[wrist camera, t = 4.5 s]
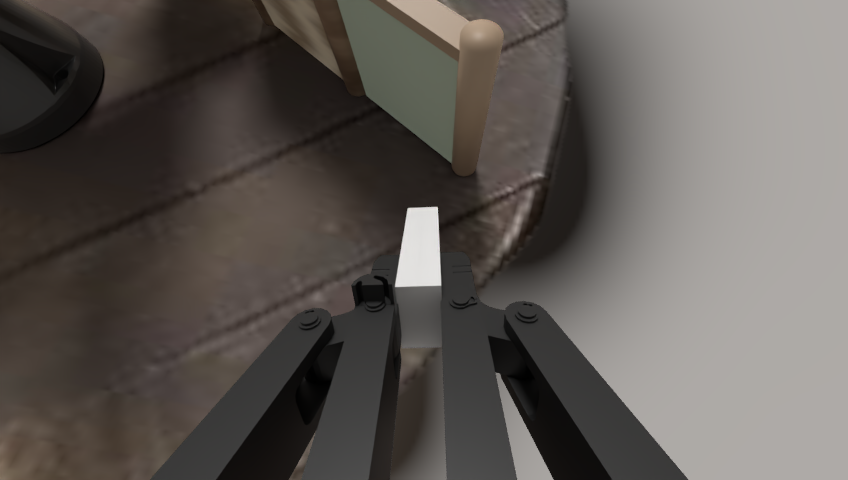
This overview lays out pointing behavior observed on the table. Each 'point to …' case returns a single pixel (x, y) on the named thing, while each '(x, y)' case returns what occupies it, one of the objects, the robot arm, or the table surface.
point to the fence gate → (427, 70)
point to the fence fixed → (316, 34)
